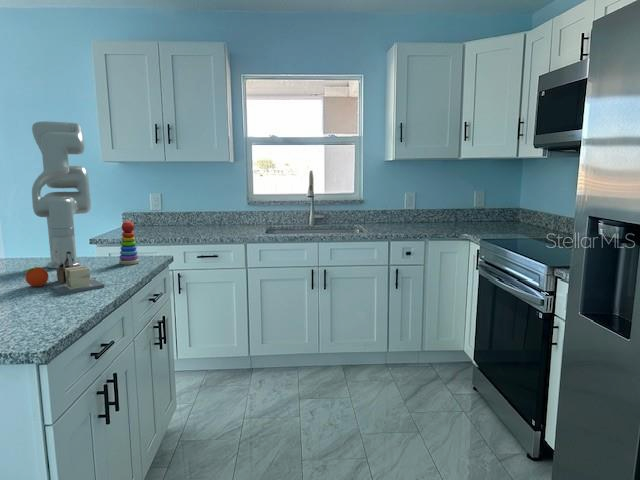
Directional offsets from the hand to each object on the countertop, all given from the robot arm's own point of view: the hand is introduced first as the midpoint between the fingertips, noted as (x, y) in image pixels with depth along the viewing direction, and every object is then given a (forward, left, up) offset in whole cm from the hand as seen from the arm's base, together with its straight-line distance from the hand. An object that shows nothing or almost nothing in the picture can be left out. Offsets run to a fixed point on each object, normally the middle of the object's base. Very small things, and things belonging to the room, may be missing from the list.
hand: (66, 279), depth 164 cm
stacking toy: (-15, +29, -1) cm, 33 cm away
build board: (+13, 0, -1) cm, 13 cm away
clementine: (+1, -10, -1) cm, 10 cm away
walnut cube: (0, 0, -1) cm, 1 cm away
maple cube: (+13, 0, +1) cm, 13 cm away
